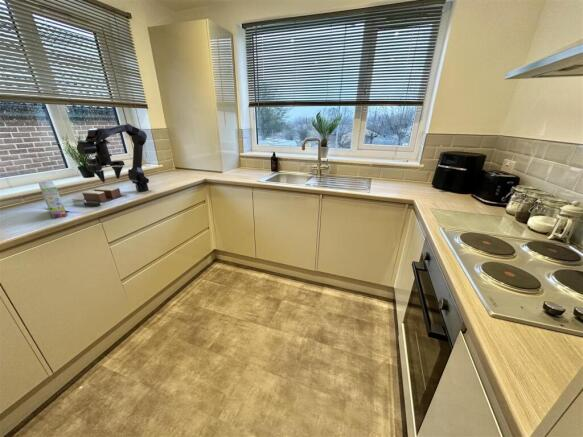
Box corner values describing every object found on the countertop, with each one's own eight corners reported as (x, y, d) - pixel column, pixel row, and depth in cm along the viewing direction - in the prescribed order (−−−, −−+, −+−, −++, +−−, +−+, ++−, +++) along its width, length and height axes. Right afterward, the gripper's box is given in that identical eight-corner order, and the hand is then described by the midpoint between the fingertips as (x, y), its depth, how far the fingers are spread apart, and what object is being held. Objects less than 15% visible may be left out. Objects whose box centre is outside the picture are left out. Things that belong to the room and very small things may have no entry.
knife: (101, 207, 131) (99, 200, 130) (97, 208, 129) (94, 201, 128) (76, 205, 135) (74, 198, 133) (72, 206, 132) (69, 199, 131)
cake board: (128, 196, 149) (127, 194, 149) (105, 204, 135) (104, 202, 135) (102, 195, 153) (101, 193, 153) (76, 202, 139) (76, 201, 139)
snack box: (68, 215, 119) (56, 186, 114) (53, 219, 115) (40, 188, 110) (62, 206, 133) (51, 180, 127) (48, 209, 129) (36, 182, 123)
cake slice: (106, 199, 140) (103, 191, 138) (100, 201, 137) (98, 193, 135) (91, 198, 143) (88, 190, 141) (85, 200, 140) (82, 192, 138)
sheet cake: (121, 195, 149) (118, 187, 147) (112, 197, 144) (110, 189, 142) (105, 194, 151) (103, 186, 149) (96, 197, 146) (93, 189, 144)
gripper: (106, 150, 142) (113, 176, 148) (73, 154, 125) (83, 184, 131) (121, 150, 140) (128, 177, 145) (90, 155, 123) (100, 184, 129)
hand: (111, 180), depth 138 cm, fingers open, 9 cm apart
